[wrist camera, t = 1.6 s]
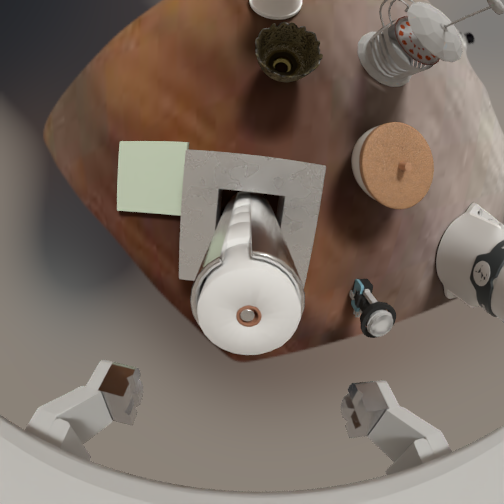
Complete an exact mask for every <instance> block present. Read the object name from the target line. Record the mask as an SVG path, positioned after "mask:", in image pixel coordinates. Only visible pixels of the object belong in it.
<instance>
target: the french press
mask: <svg viewBox="0 0 504 504" xmlns="http://www.w3.org/2000/svg"><path fill="white" fill-rule="evenodd" d="M386 1H387V0H384V2H383V3H382V4H381V7H380V11H379V13H380V19H381V22H382V26H383V27H382V28H381V29H380V30H379V31H378V32H370V33H368V34H365V35H363V36H362V38H361V39H360V41H359V43H358V56H359V58H360V61H361V64H362V66H363V67H364V68H365V70H366V71H367V72H368V74H369V75H370V76H372V77H373V78H374V79H376V80H377V81H378V82H379V83H382V84H385V85H387V86H390V87H399V86H403V85H404V84H406V83H407V82H409V80H410V78H411V76H412V75H413V74H416V73H418V72H421V71H424V70H426V69H429V68H431V67H432V66H433V65H434V64H436V63H437V62H439V59H441V60H443V61H449V62H455V61H457V60H459V59H460V57H461V54H462V52H463V51H462V41H461V39H460V36H459V34H458V31H457V30H456V28H455V27H454V25H453V24H454V23H457V22H459V21H461V20H463V19H465V18H468V17H470V16H473V15H475V14H478V13H480V12H482V11H485V10H488V9H490V8H492V10H493V11H494V12H495V13H497V14H498V15H500V14H503V13H504V5H503V4H502V2H501V1H500V0H487V2H488V4H489V5H490V6H489V7H486V8H484V9H482V10H479V11H477V12H474V13H472V14H470V15H467V16H465V17H463V18H461V19H459V20H456V21H454V22H451V21H450V20H449V19H448V18H447V17H446V16H445V15H444V14H443V13H442V12H441V11H440V10H438V9H437V8H435V7H433V6H432V5H430V4H427V3H422V2H417V3H415V2H414V1H412V0H409V1H411V2H413V3H414V4H411V6H410V8H409V5H408V4H407V3H405V2H404V1H403V0H399V1H402V2H403V3H404V4H405V5H406V6H407V8H406V10H405V12H408V17H406V16H404V17H402V18H399V19H398V20H397V22H396V23H395V24H392V23H393V22H394V21H395V20H393V21H392V20H391V15H390V9H391V6H392V4H393V2H395V1H396V0H393V1H392V2H391V3H390V6H389V10H388V13H389V19H390V23H389V24H388V25H386V26H385V27H384V23H383V20H382V15H381V9H382V6H383V5H384V3H385V2H386ZM390 24H391V26H390V27H389V25H390ZM388 27H389V28H388ZM382 31H383V33H382ZM413 59H414V60H415V63H414V66H413ZM417 61H418V62H419V63H418V68H416V66H417ZM421 63H422V64H423V65H422V68H421V69H419V68H420V65H421ZM424 65H427V66H426V67H424Z"/></svg>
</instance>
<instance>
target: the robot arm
mask: <svg viewBox="0 0 504 504" xmlns="http://www.w3.org/2000/svg"><path fill="white" fill-rule="evenodd" d="M436 269H437V274H438V277H439V279H440V281H441V282H442V284H443V286H444V293H445V296H446V297H447V298H449V299H452V298H456V297H458V298H459V299H460V300H462V301H463V302H464V303H466V304H467V305H469V306H470V307H472V308H474V307H479V306H481V307H482V308H483V309H484V310H485V311H486V312H487V313H489V314H491V315H492V316H494V317H498V318H499V319H500V320H501V321H502V322H504V224H501V223H500V222H499V221H498V220H496V219H495V218H494V217H493V216H492V215H490V214H489V213H488V212H487V211H486V210H484V209H483V208H482V207H480V206H479V205H478V204H476V203H472V204H471V205H470V206H469V208H468V209H467V211H466V212H465V213H464V214H463V215H461V216H460V217H458V218H457V219H456V220H454V221H453V222H452V223H451V224H450V226H449V227H448V228H447V230H446V231H445V233H444V235H443V237H442V239H441V242H440V245H439V248H438V252H437V258H436ZM139 377H140V370H139V368H136V367H132V366H128V365H124V364H120V363H116V362H111V361H108V360H105V359H103V360H101V361H100V362H99V364H98V366H97V367H96V369H95V371H94V373H93V374H92V376H91V378H90V379H89V381H88V383H87V385H86V386H81V387H79V388H77V389H75V390H73V391H71V392H69V393H67V394H65V395H63V396H61V397H59V398H57V399H55V400H53V401H51V402H49V403H47V404H45V405H43V406H40V407H39V408H38V409H37V411H36V412H35V414H34V415H33V417H32V419H31V421H30V422H29V424H28V426H27V427H26V429H25V430H24V429H22V428H21V427H19V426H17V425H15V424H14V423H12V422H11V421H9V420H7V419H6V418H4V417H3V416H1V415H0V504H504V426H502V427H500V428H498V429H496V430H494V431H492V432H491V433H489V434H487V435H485V436H484V437H482V438H480V439H478V440H476V441H475V442H472V443H470V444H468V445H466V446H464V447H462V448H460V449H458V450H455V451H453V452H452V451H451V449H450V447H449V445H448V443H447V441H446V439H445V438H444V436H443V434H442V432H441V431H440V430H438V429H437V428H435V427H433V426H432V425H430V424H429V423H427V422H426V421H424V420H422V419H421V418H419V417H418V416H416V415H414V414H413V413H412V412H410V411H409V410H407V409H406V408H404V407H400V406H399V404H398V402H397V400H396V398H395V396H394V394H393V393H392V391H391V389H390V387H389V385H388V383H387V382H386V381H384V380H382V381H374V382H373V381H372V382H360V383H352V384H351V385H350V386H349V388H348V392H349V394H347V395H346V396H345V397H344V398H343V400H342V404H341V413H342V417H343V418H344V419H345V420H346V421H347V423H346V425H345V426H346V430H347V432H348V436H349V438H355V437H362V436H367V437H368V438H369V439H370V440H371V441H372V442H373V443H374V444H375V445H376V446H377V447H379V448H380V449H381V450H382V451H383V452H384V453H385V454H386V455H387V456H388V457H389V458H390V459H391V460H392V461H394V463H393V464H392V465H391V466H390V467H389V468H388V469H387V470H386V474H387V475H385V476H382V477H378V478H373V479H369V480H365V481H360V482H355V483H350V484H345V485H339V486H332V487H325V488H317V489H307V490H296V491H276V492H246V491H226V490H215V489H205V488H196V487H190V486H183V485H177V484H171V483H166V482H161V481H156V480H152V479H147V478H143V477H140V476H136V475H132V474H129V473H125V472H121V471H118V470H115V469H112V468H109V467H106V466H103V465H100V464H97V463H94V462H92V461H90V458H91V456H90V454H89V453H88V451H87V450H86V449H85V447H84V446H83V444H84V443H86V442H87V441H88V440H90V439H91V438H92V437H94V436H95V435H96V434H98V433H99V432H100V431H101V430H103V429H104V428H105V427H106V426H108V425H109V424H110V423H112V420H113V421H116V422H120V423H124V424H129V425H133V423H134V421H135V418H136V415H137V410H136V407H137V406H138V405H140V403H141V400H142V396H143V385H142V382H141V381H140V380H139Z"/></svg>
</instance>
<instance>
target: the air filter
mask: <svg viewBox="0 0 504 504" xmlns="http://www.w3.org/2000/svg"><path fill="white" fill-rule="evenodd" d="M190 302H191V307H192V313H193V315H194V317H195V319H196V321H197V323H198V325H199V326H200V327H201V329H202V331H203V333H204V334H205V335H206V336H207V337H208V339H209V340H210V341H211V342H212V343H214V344H215V345H217V346H218V347H220V348H222V349H224V350H226V351H229V352H232V353H236V354H242V355H257V354H262V353H265V352H269V351H272V350H274V349H276V348H278V347H280V346H282V345H283V344H284V343H285V342H287V341H288V340H289V339H290V338H291V336H292V335H293V333H294V332H295V330H296V329H297V327H298V324H299V321H300V319H301V316H302V313H303V310H304V304H305V293H304V289H303V286H302V282H301V279H300V277H299V274H298V272H297V269H296V267H295V264H294V261H293V259H292V256H291V254H290V251H289V249H288V246H287V244H286V241H285V239H284V236H283V234H282V231H281V229H280V226H279V224H278V222H277V219H276V217H275V214H274V212H273V209H272V207H271V205H270V203H269V201H268V200H267V198H266V197H264V196H263V195H262V194H260V193H255V192H246V191H241V192H238V193H237V194H235V195H234V196H232V197H231V198H230V200H229V201H228V203H227V205H226V207H225V209H224V212H223V214H222V216H221V218H220V221H219V223H218V225H217V228H216V230H215V232H214V235H213V237H212V239H211V242H210V244H209V246H208V249H207V251H206V254H205V256H204V258H203V261H202V263H201V266H200V268H199V271H198V273H197V276H196V278H195V281H194V283H193V285H192V290H191V298H190Z"/></svg>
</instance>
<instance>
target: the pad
mask: <svg viewBox="0 0 504 504" xmlns="http://www.w3.org/2000/svg"><path fill="white" fill-rule="evenodd" d="M188 149H189V142H167V141H120V146H119V160H118V182H117V211H130V212H143V213H156V214H168V215H179V216H181V203H182V188H183V175H184V163H185V152H186V150H188Z"/></svg>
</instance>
